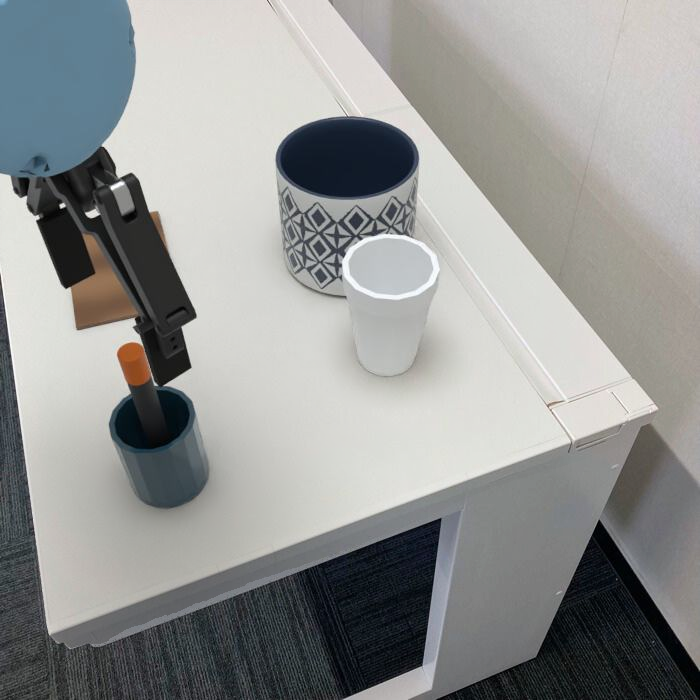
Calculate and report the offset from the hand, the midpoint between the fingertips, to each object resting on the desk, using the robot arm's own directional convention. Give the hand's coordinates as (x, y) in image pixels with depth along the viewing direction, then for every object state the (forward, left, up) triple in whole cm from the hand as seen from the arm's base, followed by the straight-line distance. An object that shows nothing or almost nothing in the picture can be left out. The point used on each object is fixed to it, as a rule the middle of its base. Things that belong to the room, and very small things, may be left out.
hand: (123, 324), depth 59 cm
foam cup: (+26, -3, -21) cm, 33 cm away
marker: (0, 0, -20) cm, 20 cm away
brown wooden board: (+12, +29, -21) cm, 38 cm away
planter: (+34, +12, -21) cm, 42 cm away
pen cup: (0, 0, -21) cm, 21 cm away
